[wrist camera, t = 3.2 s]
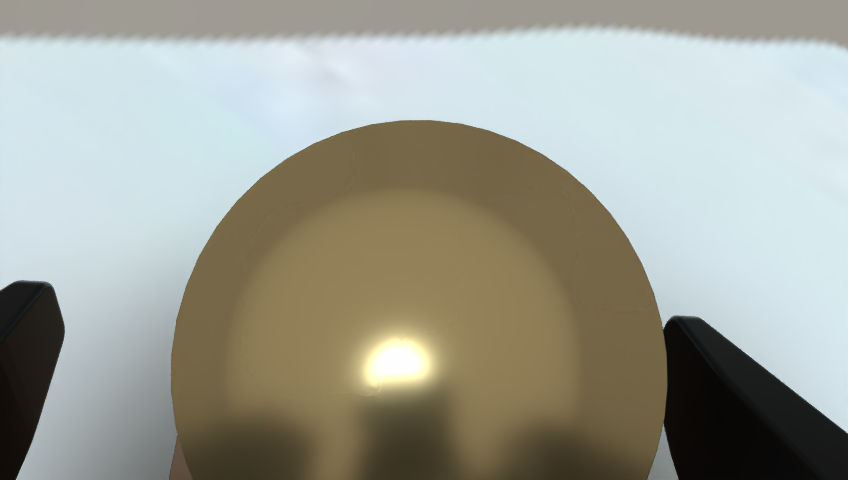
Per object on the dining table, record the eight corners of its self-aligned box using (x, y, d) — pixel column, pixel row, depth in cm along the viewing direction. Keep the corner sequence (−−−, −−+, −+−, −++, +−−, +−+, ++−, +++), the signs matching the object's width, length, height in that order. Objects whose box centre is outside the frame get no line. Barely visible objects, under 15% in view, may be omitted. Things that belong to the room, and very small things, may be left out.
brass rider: (341, 493, 14) (385, 763, 4) (243, 358, 14) (63, 303, 4) (469, 387, 15) (757, 397, 5) (375, 261, 15) (470, 39, 5)
